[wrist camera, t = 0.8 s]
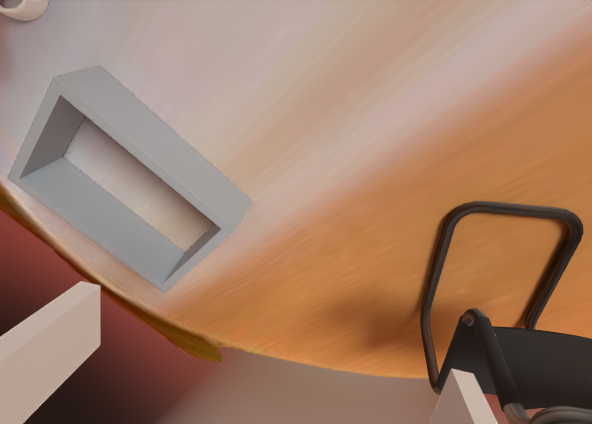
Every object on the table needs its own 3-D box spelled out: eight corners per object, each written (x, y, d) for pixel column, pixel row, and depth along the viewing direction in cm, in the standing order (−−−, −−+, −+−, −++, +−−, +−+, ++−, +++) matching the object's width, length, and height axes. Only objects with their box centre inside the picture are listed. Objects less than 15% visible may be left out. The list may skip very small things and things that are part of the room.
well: (100, 65, 34) (53, 76, 29) (252, 200, 39) (235, 230, 34) (52, 156, 40) (7, 178, 35) (187, 261, 45) (164, 293, 40)
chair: (593, 207, 33) (892, 476, 14) (527, 330, 42) (656, 593, 23) (449, 194, 34) (546, 418, 16) (416, 315, 44) (453, 547, 25)
